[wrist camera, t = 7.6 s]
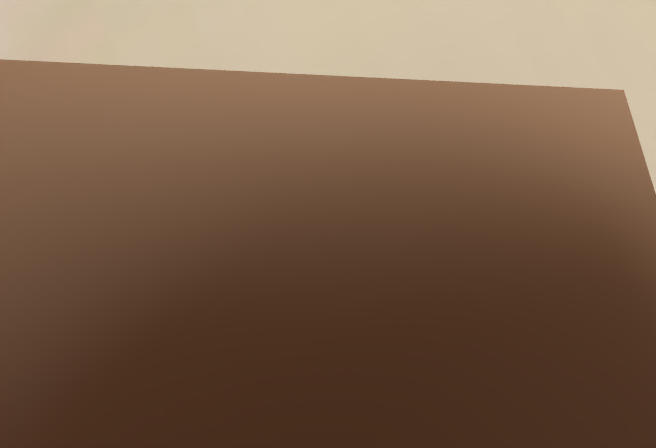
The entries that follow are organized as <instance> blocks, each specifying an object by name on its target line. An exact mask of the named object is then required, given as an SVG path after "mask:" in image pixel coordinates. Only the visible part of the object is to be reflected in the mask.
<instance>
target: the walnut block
mask: <svg viewBox="0 0 656 448" xmlns="http://www.w3.org/2000/svg"><path fill="white" fill-rule="evenodd" d="M0 448H656V194H655V191H654V188H653V184H652V181H651V178H650V175H649V171H648V168H647V165H646V162H645V158H644V155H643V152H642V148H641V145H640V142H639V139H638V135H637V132H636V129H635V126H634V122H633V119H632V116H631V112H630V109H629V106H628V103H627V99H626V96H625V93H624V90H613V89H592V88H572V87H551V86H531V85H510V84H490V83H470V82H449V81H429V80H408V79H388V78H368V77H347V76H327V75H306V74H286V73H265V72H245V71H225V70H204V69H184V68H163V67H143V66H123V65H102V64H82V63H61V62H41V61H20V60H0Z"/></svg>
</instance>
